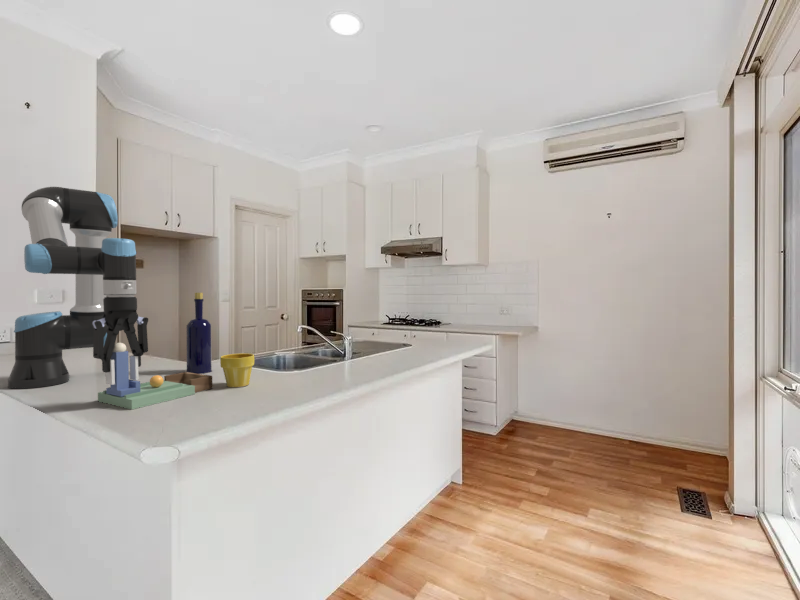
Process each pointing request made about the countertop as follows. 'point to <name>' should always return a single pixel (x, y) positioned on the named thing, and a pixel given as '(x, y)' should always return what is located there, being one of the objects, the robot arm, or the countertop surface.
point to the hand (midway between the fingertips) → (122, 381)
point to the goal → (191, 380)
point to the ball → (156, 381)
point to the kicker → (122, 373)
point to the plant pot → (237, 368)
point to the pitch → (148, 395)
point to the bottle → (199, 340)
